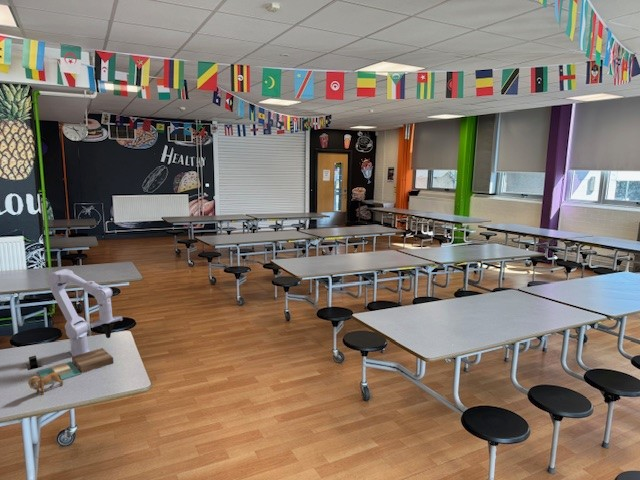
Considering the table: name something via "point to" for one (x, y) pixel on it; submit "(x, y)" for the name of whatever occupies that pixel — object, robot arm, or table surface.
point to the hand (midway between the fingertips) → (108, 337)
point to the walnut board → (92, 360)
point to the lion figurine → (44, 381)
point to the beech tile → (61, 369)
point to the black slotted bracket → (33, 363)
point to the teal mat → (73, 373)
